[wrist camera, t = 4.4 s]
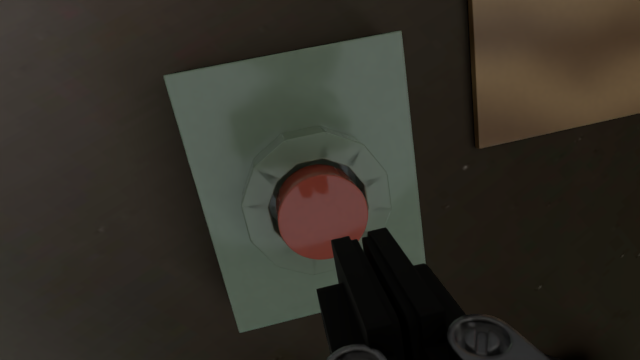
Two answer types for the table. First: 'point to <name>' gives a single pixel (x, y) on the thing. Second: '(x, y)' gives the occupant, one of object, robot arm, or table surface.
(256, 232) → the button block
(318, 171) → the red push button
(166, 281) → the table surface
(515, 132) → the coaster
